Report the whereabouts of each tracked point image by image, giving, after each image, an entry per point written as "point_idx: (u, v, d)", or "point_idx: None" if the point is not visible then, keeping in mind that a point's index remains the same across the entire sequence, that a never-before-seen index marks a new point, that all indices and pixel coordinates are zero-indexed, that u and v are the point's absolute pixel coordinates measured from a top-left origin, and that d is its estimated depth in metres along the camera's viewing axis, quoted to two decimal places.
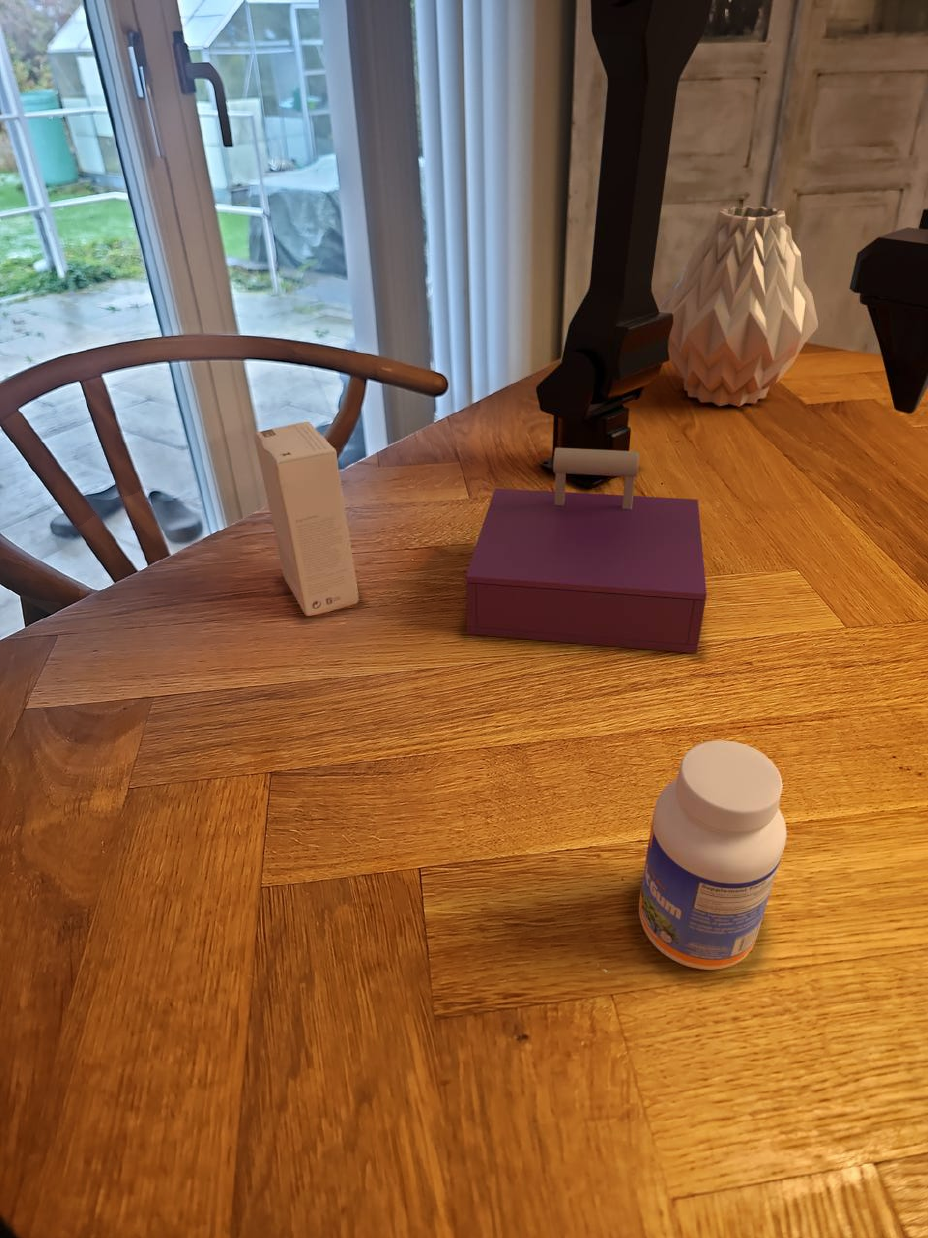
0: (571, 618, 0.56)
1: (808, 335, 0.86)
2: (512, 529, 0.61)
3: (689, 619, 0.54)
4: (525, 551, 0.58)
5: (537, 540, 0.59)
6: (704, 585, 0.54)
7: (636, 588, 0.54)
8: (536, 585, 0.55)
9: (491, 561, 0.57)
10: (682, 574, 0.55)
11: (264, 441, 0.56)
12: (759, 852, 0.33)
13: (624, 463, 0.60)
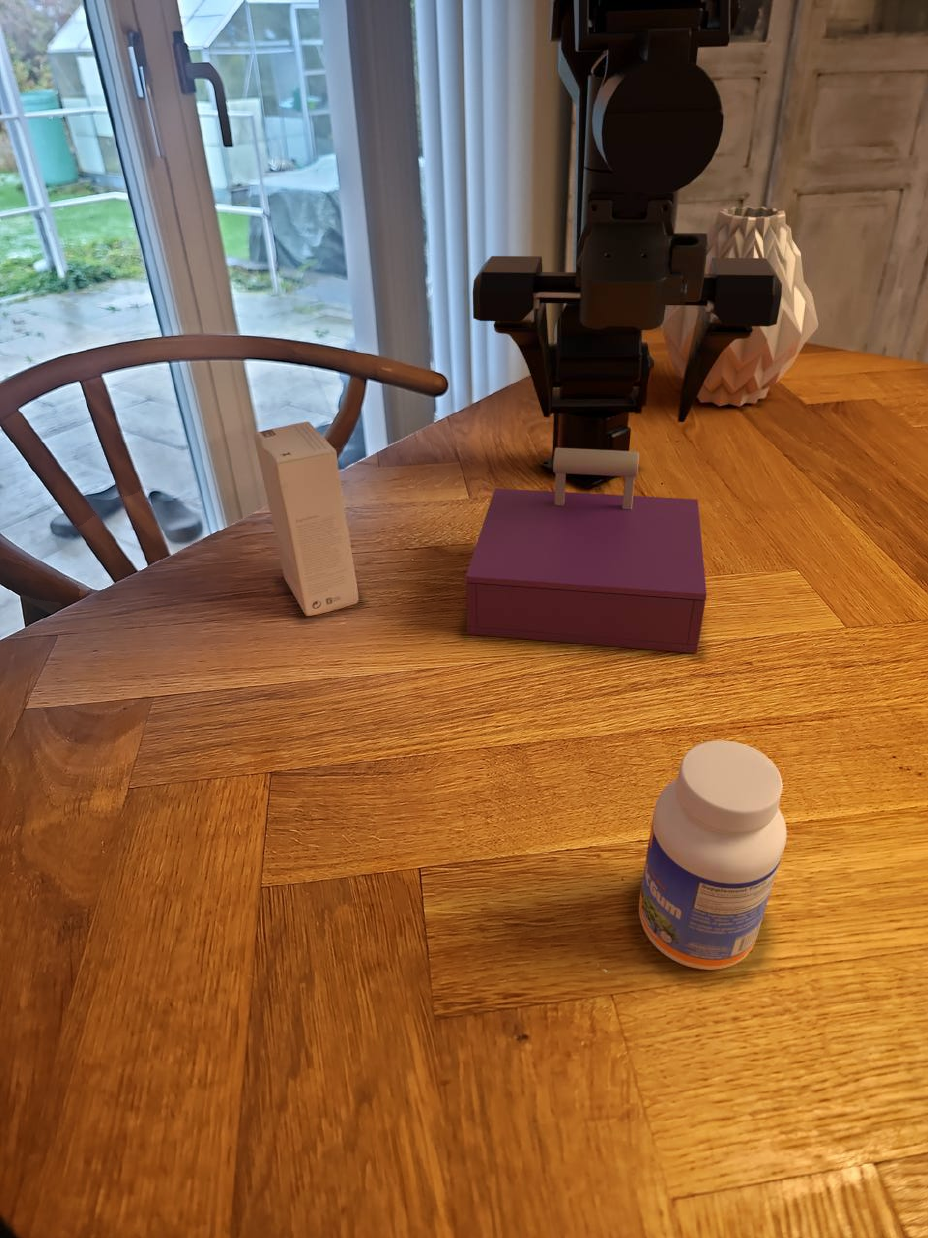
0: (571, 618, 0.56)
1: (808, 335, 0.86)
2: (512, 529, 0.61)
3: (689, 619, 0.54)
4: (525, 551, 0.58)
5: (537, 540, 0.59)
6: (704, 585, 0.54)
7: (636, 588, 0.54)
8: (536, 585, 0.55)
9: (491, 561, 0.57)
10: (682, 574, 0.55)
11: (264, 441, 0.56)
12: (760, 852, 0.33)
13: (624, 463, 0.60)
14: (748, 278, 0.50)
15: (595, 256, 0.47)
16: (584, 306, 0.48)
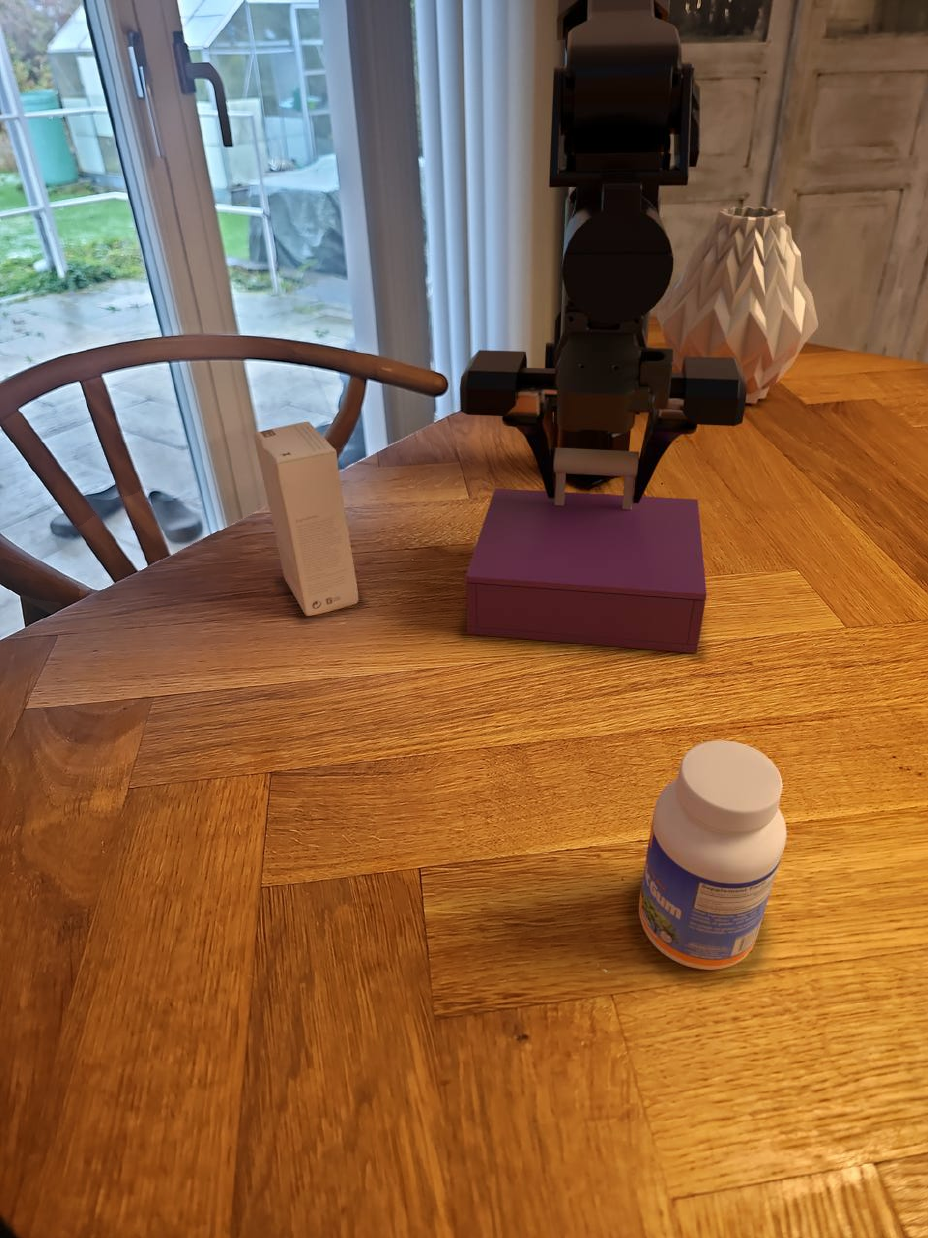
0: (571, 618, 0.56)
1: (808, 335, 0.86)
2: (512, 529, 0.61)
3: (689, 619, 0.54)
4: (525, 551, 0.58)
5: (537, 540, 0.59)
6: (704, 585, 0.54)
7: (636, 588, 0.54)
8: (536, 585, 0.55)
9: (491, 561, 0.57)
10: (682, 574, 0.55)
11: (264, 441, 0.56)
12: (759, 852, 0.33)
13: (624, 463, 0.60)
14: (715, 382, 0.54)
15: (570, 367, 0.51)
16: (560, 412, 0.52)
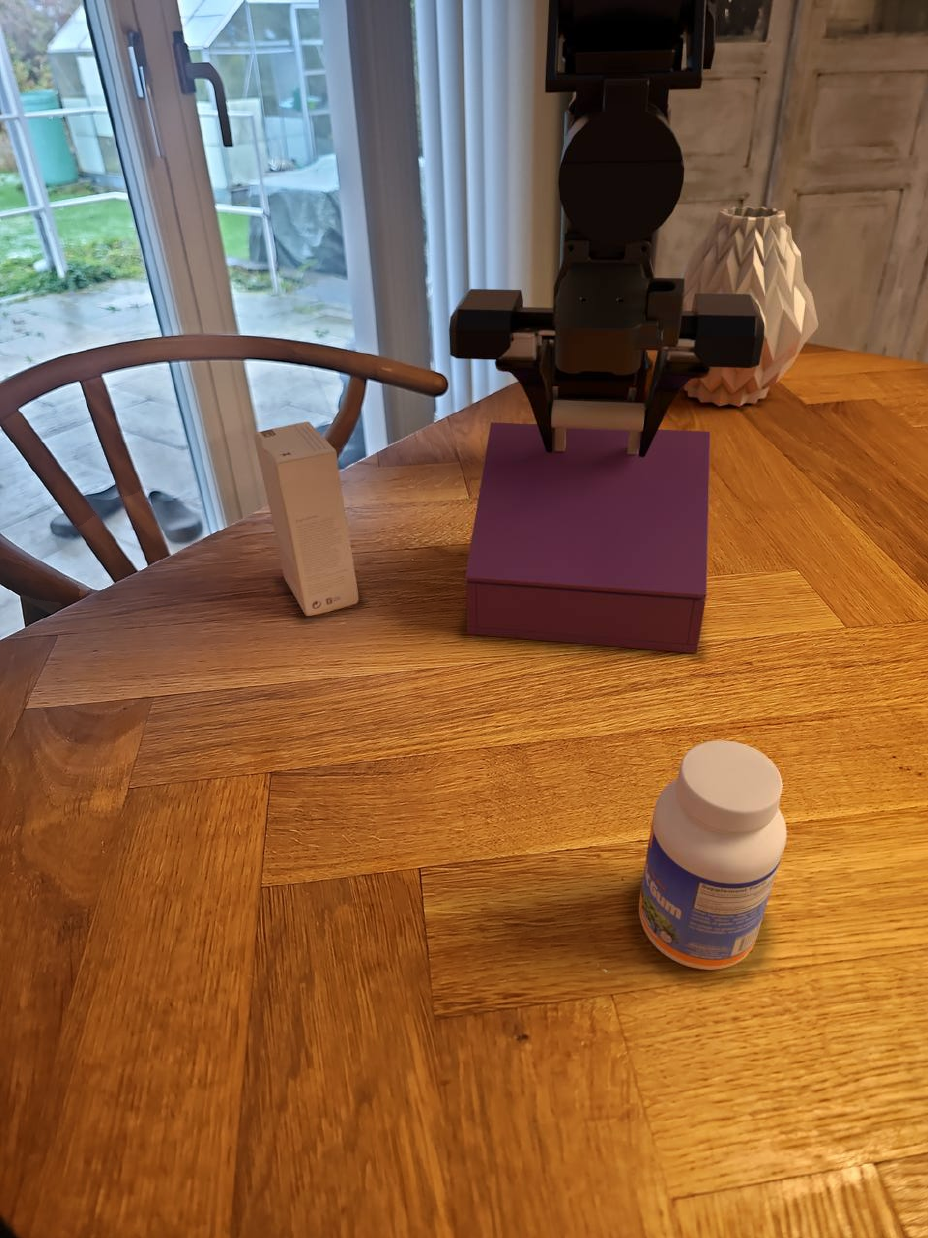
0: (571, 618, 0.56)
1: (808, 335, 0.86)
2: (510, 496, 0.58)
3: (689, 619, 0.54)
4: (524, 533, 0.57)
5: (537, 514, 0.57)
6: (705, 581, 0.53)
7: (636, 589, 0.54)
8: (536, 585, 0.55)
9: (490, 552, 0.56)
10: (684, 564, 0.54)
11: (264, 441, 0.56)
12: (760, 852, 0.33)
13: (628, 422, 0.55)
14: (729, 319, 0.49)
15: (570, 300, 0.46)
16: (558, 351, 0.47)
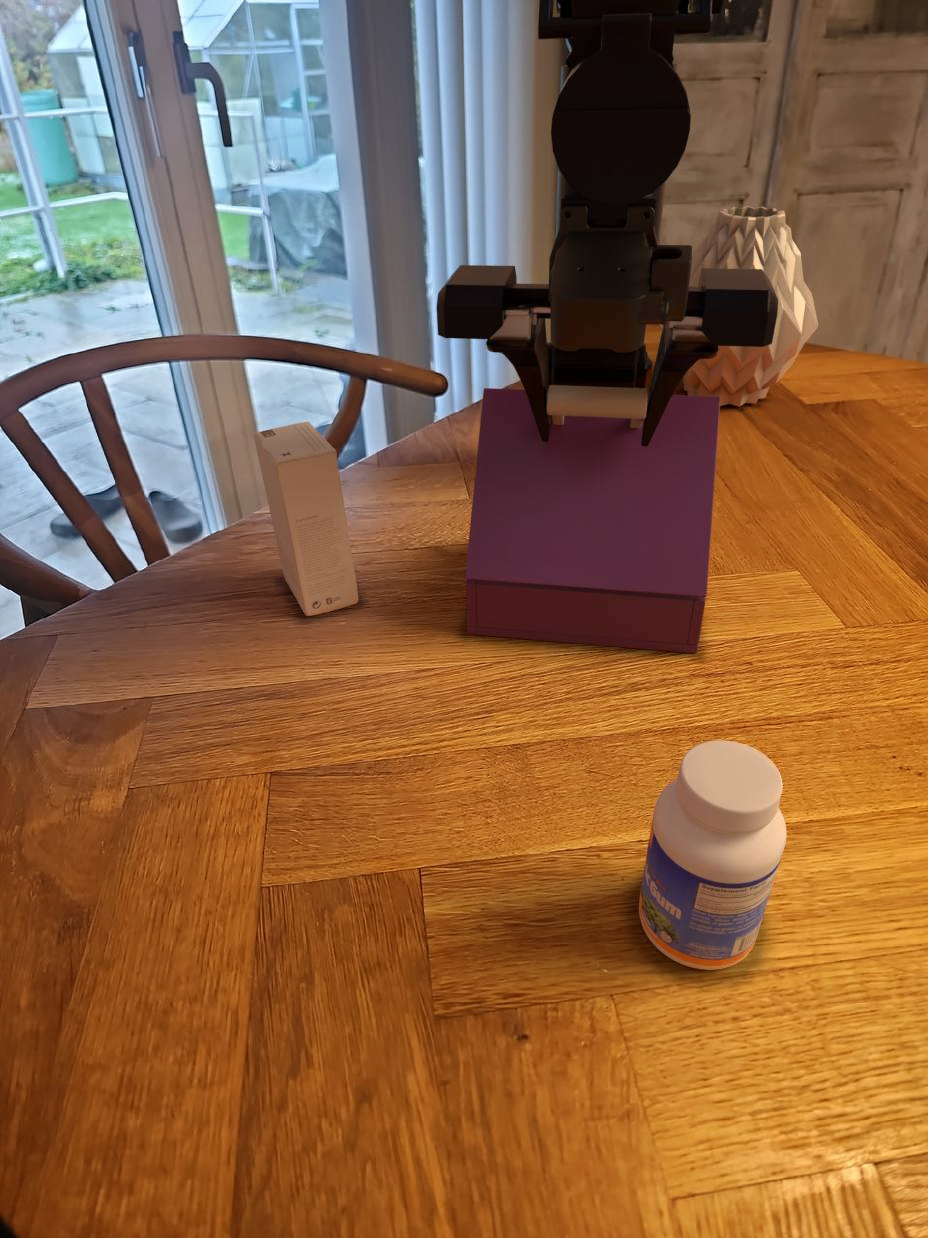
0: (571, 618, 0.56)
1: (808, 335, 0.86)
2: (508, 482, 0.56)
3: (689, 619, 0.54)
4: (523, 527, 0.55)
5: (535, 503, 0.55)
6: (706, 581, 0.53)
7: (636, 590, 0.54)
8: (536, 584, 0.55)
9: (489, 549, 0.55)
10: (685, 562, 0.53)
11: (264, 441, 0.56)
12: (760, 852, 0.33)
13: (629, 413, 0.51)
14: (740, 293, 0.45)
15: (567, 270, 0.42)
16: (554, 326, 0.43)
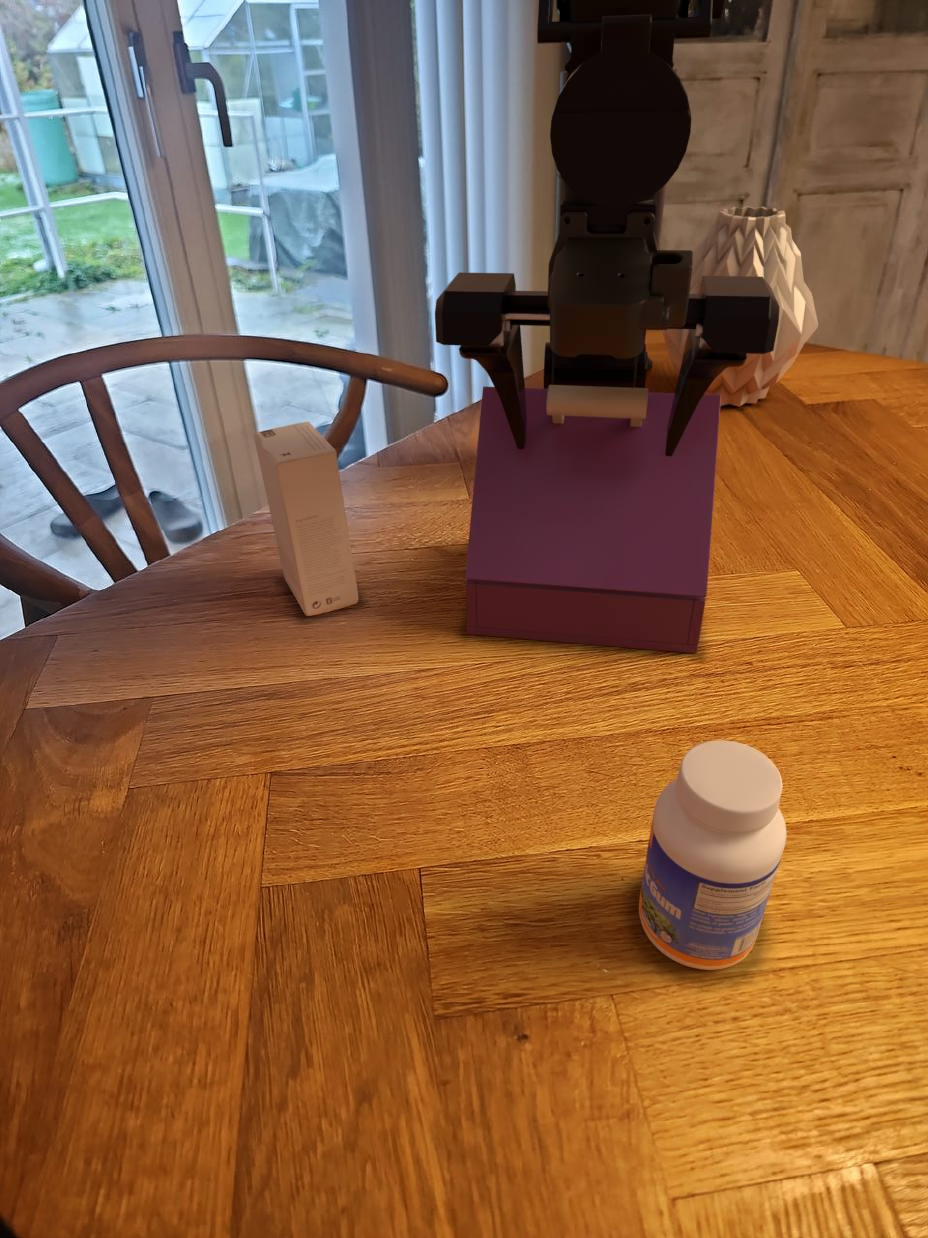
0: (571, 618, 0.56)
1: (808, 335, 0.86)
2: (507, 482, 0.56)
3: (689, 619, 0.54)
4: (523, 527, 0.55)
5: (535, 503, 0.55)
6: (706, 581, 0.53)
7: (636, 590, 0.54)
8: (536, 584, 0.55)
9: (489, 549, 0.55)
10: (685, 562, 0.53)
11: (264, 441, 0.56)
12: (759, 852, 0.33)
13: (629, 413, 0.51)
14: (741, 300, 0.45)
15: (566, 275, 0.42)
16: (554, 331, 0.42)
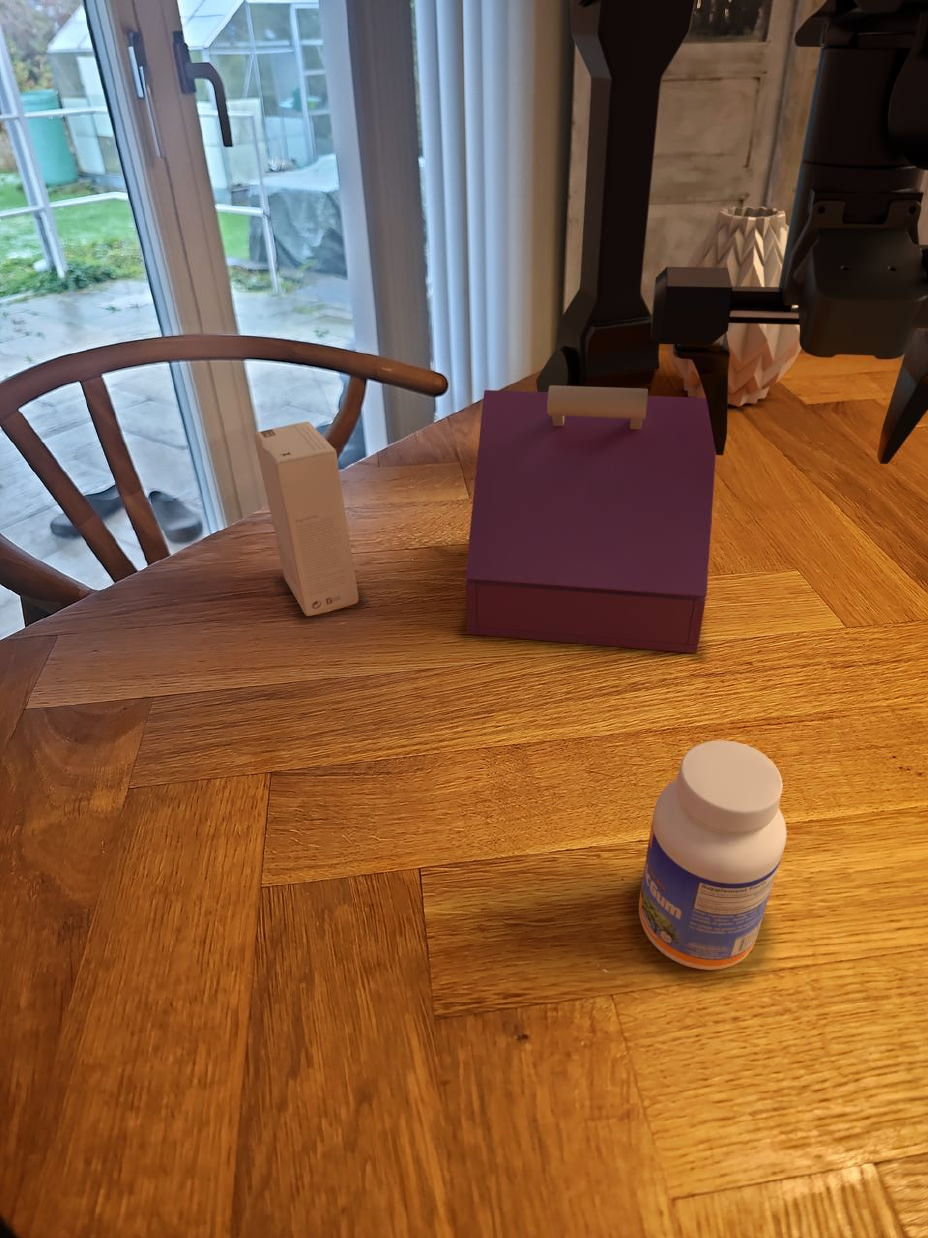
0: (571, 618, 0.56)
1: None
2: (508, 483, 0.56)
3: (689, 619, 0.54)
4: (523, 527, 0.55)
5: (535, 504, 0.55)
6: (706, 581, 0.53)
7: (636, 590, 0.54)
8: (536, 584, 0.55)
9: (489, 549, 0.56)
10: (685, 562, 0.53)
11: (264, 441, 0.56)
12: (760, 852, 0.33)
13: (629, 413, 0.51)
14: None
15: (829, 269, 0.39)
16: (812, 330, 0.39)
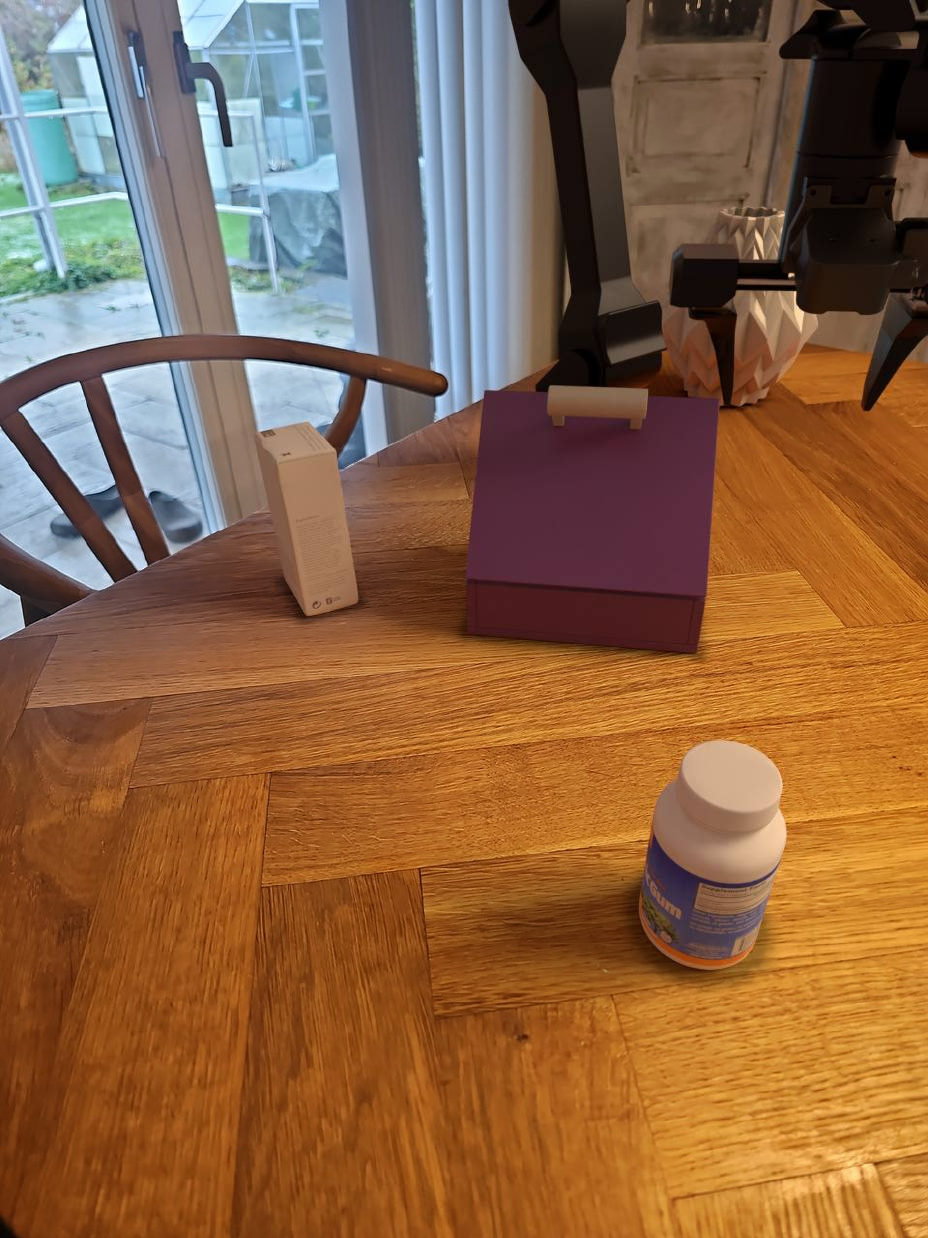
0: (571, 618, 0.56)
1: (808, 335, 0.86)
2: (508, 483, 0.56)
3: (689, 619, 0.54)
4: (523, 527, 0.55)
5: (535, 504, 0.55)
6: (706, 581, 0.53)
7: (636, 590, 0.54)
8: (536, 584, 0.55)
9: (489, 549, 0.56)
10: (685, 562, 0.53)
11: (264, 441, 0.56)
12: (759, 852, 0.33)
13: (629, 413, 0.51)
14: None
15: (820, 240, 0.47)
16: (807, 291, 0.48)
